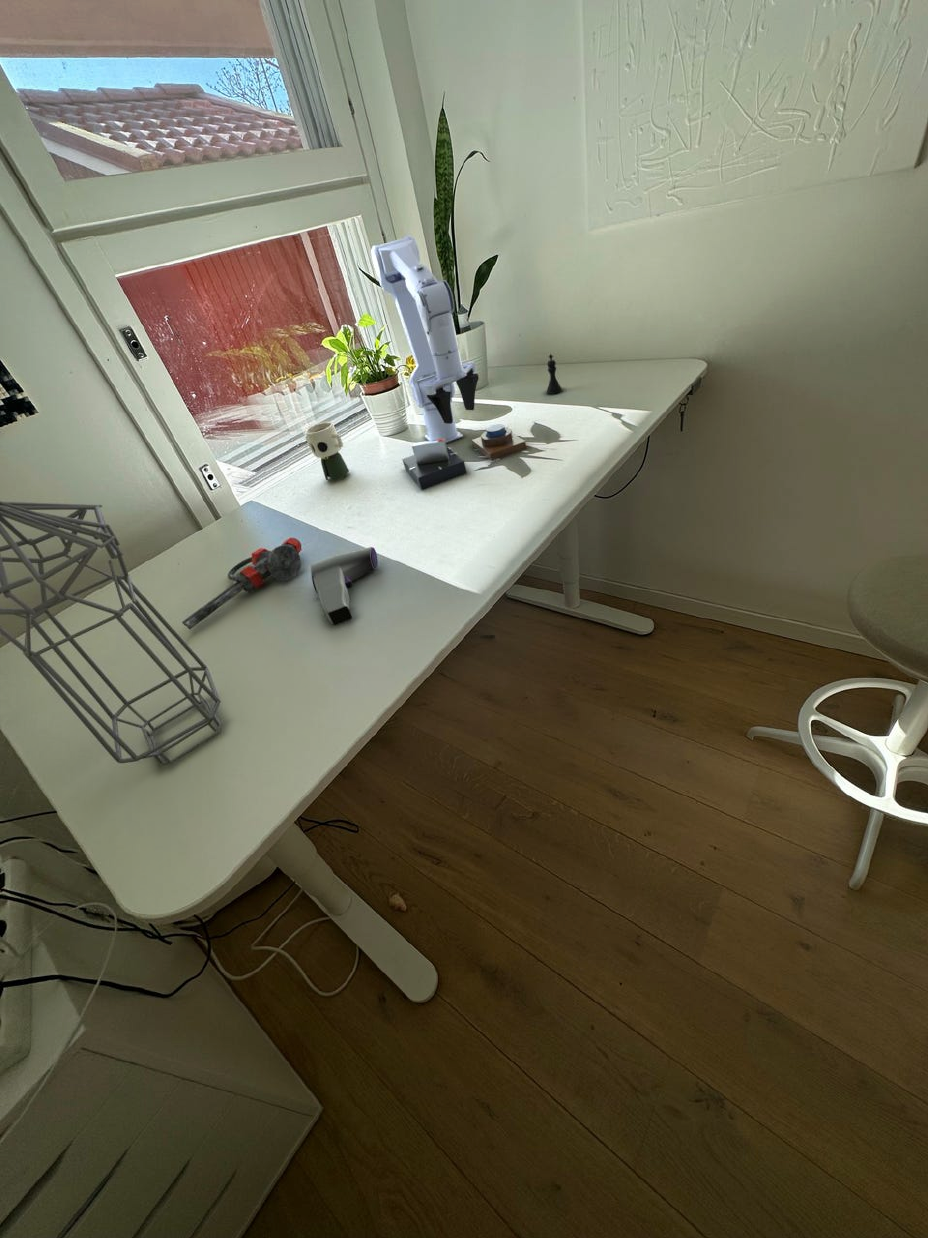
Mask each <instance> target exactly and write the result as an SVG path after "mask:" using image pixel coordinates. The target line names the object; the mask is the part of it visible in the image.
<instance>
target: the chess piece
mask: <svg viewBox="0 0 928 1238" xmlns="http://www.w3.org/2000/svg"><path fill="white" fill-rule="evenodd" d="M548 358H549V360H548V361H547V363H546V365H547V367H548V368H547V372H548V373H549V375H550V376H549V377H550V378H549V383H548V385H547V388H546V395H556V394H559V393H561V392H562V391H563V388H562V386H561V385H560V383H559V382H558V380H557V377H556V371H557V367H556V363H557V362H556V360H554V359H553V358H554V355H552V354H549V355H548Z"/></svg>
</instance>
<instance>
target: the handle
mask: <svg viewBox="0 0 928 1238" xmlns="http://www.w3.org/2000/svg"><path fill="white" fill-rule="evenodd" d="M447 447H448V446H447V443H446V442H445V439H444V438H439V440H432V441H429V440H426V441H421V442H414V443H412V445H411V449H412V452H413V455H414V456H415V459H416V463H417V465H419V464H426V463H433V462H440V461H447V460H448V459H449V454H448V450H447Z"/></svg>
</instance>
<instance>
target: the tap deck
mask: <svg viewBox="0 0 928 1238" xmlns="http://www.w3.org/2000/svg"><path fill="white" fill-rule="evenodd" d="M447 450H448V454H449V459H448V460H447V461H440V462H433V463H426V464H419V465H417V463H416V459H415V456H414V454H413V455H410V456H407V457H404V458H402V463H403V466H404V467H403V468H404V470H405V472H406V473H407V475H409V476H410V478H411V480H412V481H414V483H415V484H416V485H417V486H418V487H419V489H420V490H421V491H424V490H426V489H430V488H432V487H434V486H437V485H440V484H442V483H445V482H448V481H451V480H453V479H457V478H459V477H462V476H464V475H467V474H468V473H467V469H466V465H465V461H464V460H463V459H462V458H461V457H460V456H459V455H457V451H456V452H454V451H453V450H452V449H450V448H449V446H447Z"/></svg>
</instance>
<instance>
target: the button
mask: <svg viewBox="0 0 928 1238" xmlns="http://www.w3.org/2000/svg"><path fill="white" fill-rule="evenodd" d="M505 427H506V426H505V424H503V423H495V424H492V425H489V426H488V427H487V428H485V429H486V430H485V432H487V437H489V438H494V437H499V436H502V435H504V434H505V433H506V432H505Z"/></svg>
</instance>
